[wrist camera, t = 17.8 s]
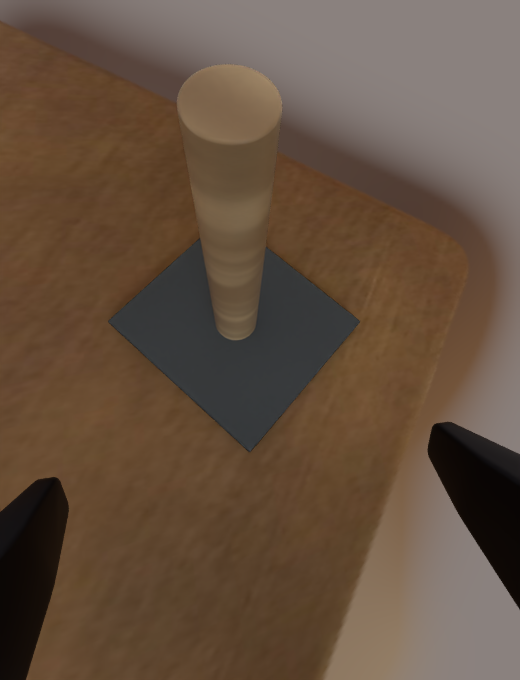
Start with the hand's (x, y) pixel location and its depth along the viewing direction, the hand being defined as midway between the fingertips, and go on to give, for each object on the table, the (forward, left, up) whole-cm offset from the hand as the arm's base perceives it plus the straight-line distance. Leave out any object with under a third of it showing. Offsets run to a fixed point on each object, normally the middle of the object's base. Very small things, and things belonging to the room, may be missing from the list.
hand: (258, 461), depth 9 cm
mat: (+6, -5, -12) cm, 14 cm away
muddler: (+6, -5, -11) cm, 13 cm away
